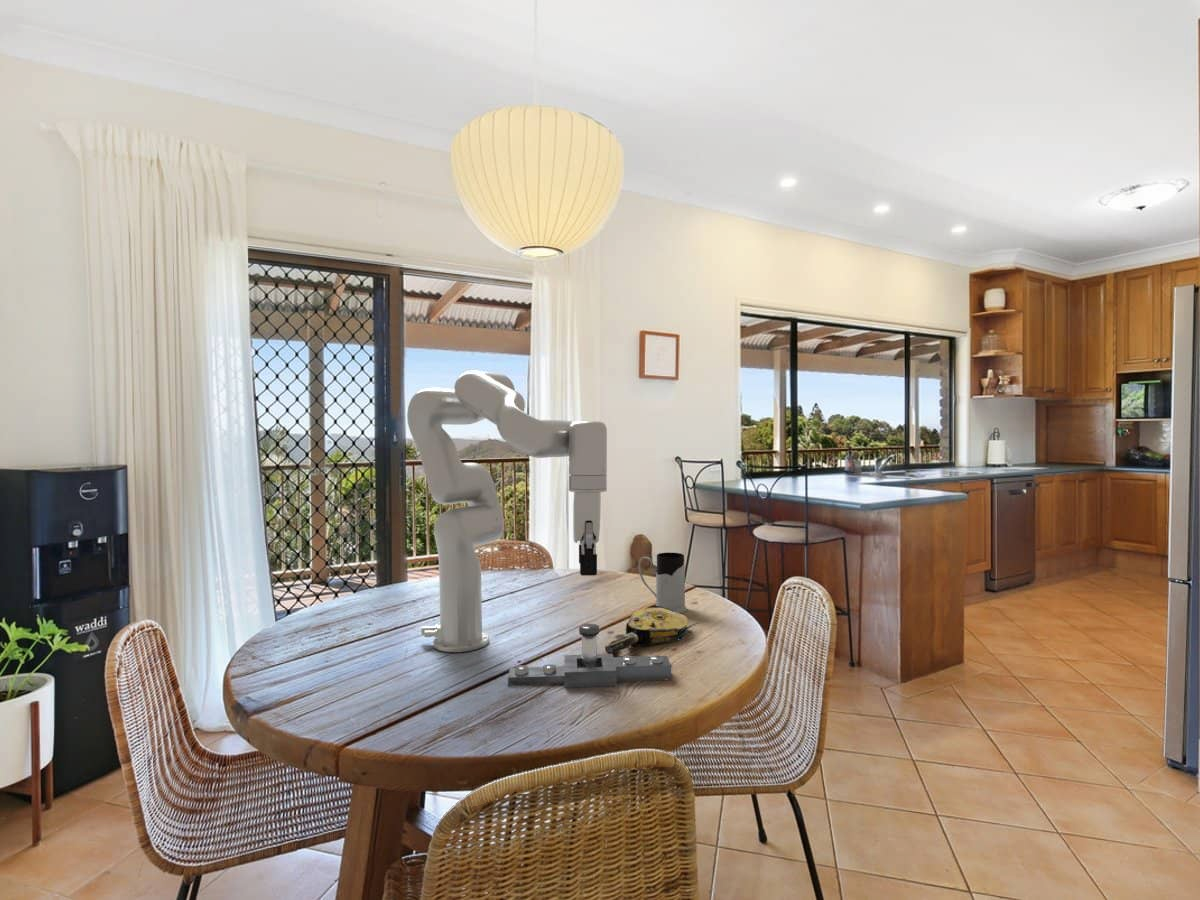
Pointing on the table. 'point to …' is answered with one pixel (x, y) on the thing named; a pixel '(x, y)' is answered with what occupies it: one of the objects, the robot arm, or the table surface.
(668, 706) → the table surface
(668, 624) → the pulley block
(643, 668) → the chain end right
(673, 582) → the grey black mug
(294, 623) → the table surface
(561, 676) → the chain end left
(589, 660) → the steel pin
